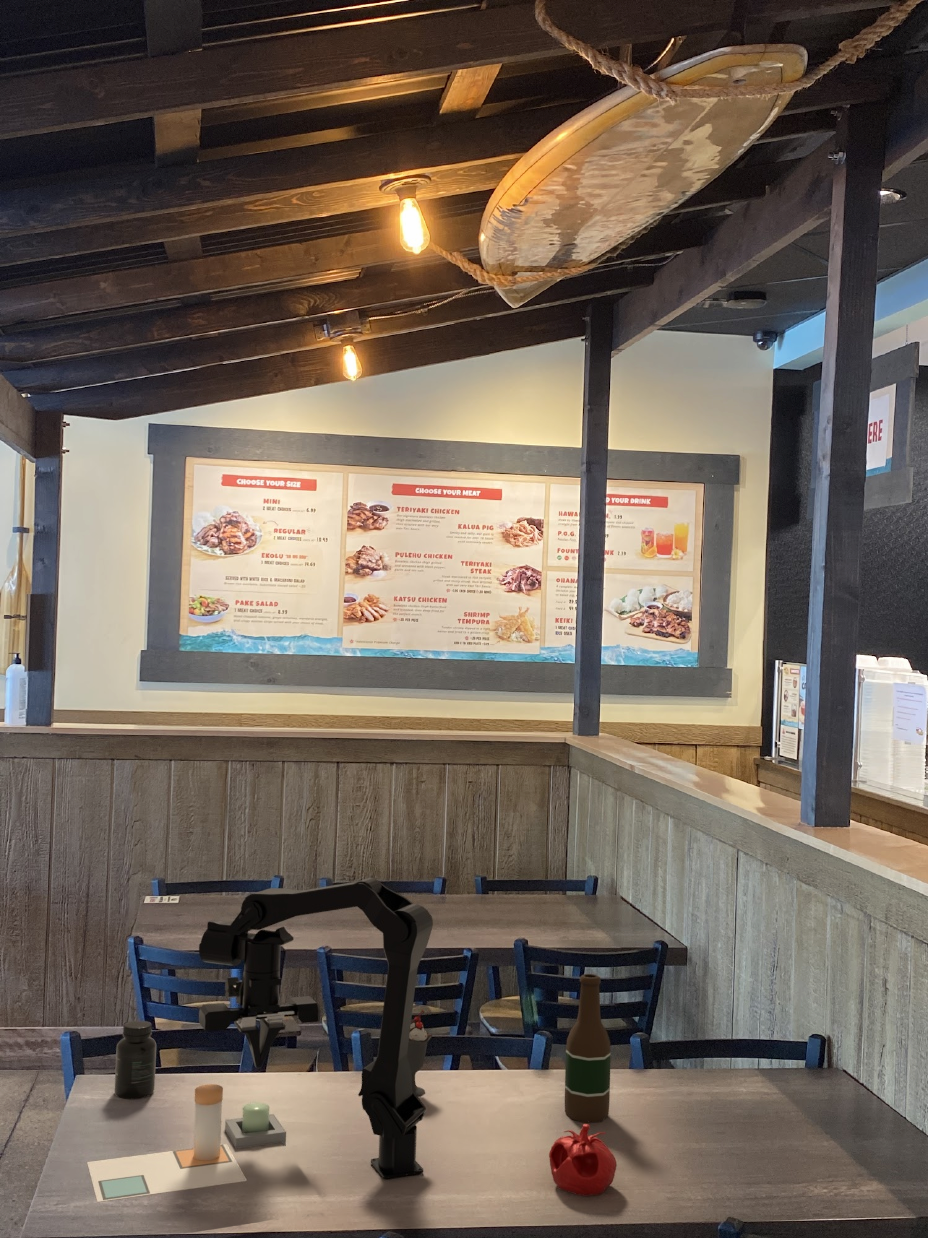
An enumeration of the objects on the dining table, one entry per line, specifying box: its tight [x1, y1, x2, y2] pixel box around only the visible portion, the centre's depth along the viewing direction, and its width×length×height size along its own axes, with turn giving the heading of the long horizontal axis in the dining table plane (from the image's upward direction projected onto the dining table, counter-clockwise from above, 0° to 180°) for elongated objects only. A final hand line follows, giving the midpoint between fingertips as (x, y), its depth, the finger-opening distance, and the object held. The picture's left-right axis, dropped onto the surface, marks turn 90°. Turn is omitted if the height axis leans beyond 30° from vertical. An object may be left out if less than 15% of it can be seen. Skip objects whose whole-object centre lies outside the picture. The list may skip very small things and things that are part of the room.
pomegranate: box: [548, 1123, 618, 1197], centre depth 174 cm, size 10×10×9 cm
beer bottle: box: [564, 973, 612, 1124], centre depth 203 cm, size 8×8×24 cm
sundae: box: [407, 1009, 433, 1097], centre depth 211 cm, size 7×7×15 cm
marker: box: [193, 1083, 224, 1161], centre depth 178 cm, size 4×4×10 cm
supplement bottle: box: [114, 1020, 157, 1100], centre depth 206 cm, size 7×7×12 cm
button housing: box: [224, 1113, 287, 1149], centre depth 186 cm, size 8×8×2 cm
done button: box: [242, 1102, 270, 1134], centre depth 187 cm, size 4×4×4 cm
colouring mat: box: [86, 1143, 248, 1203], centre depth 172 cm, size 14×21×1 cm, turn 113°
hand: (258, 1067), depth 187 cm, fingers closed
